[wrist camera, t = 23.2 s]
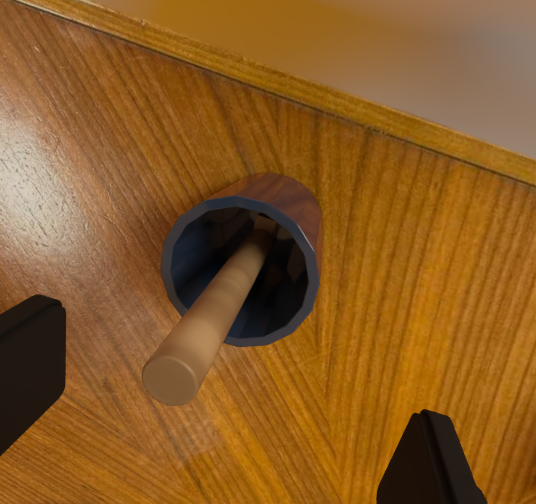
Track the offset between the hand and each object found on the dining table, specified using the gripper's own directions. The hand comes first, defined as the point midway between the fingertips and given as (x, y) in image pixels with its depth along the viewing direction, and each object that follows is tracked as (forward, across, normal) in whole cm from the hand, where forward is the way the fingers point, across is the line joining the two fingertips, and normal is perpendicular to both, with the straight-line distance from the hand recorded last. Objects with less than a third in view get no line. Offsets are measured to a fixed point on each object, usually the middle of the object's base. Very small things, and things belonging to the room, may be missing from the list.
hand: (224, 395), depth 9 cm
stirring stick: (+16, +2, 0) cm, 16 cm away
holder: (+16, +2, 0) cm, 17 cm away
